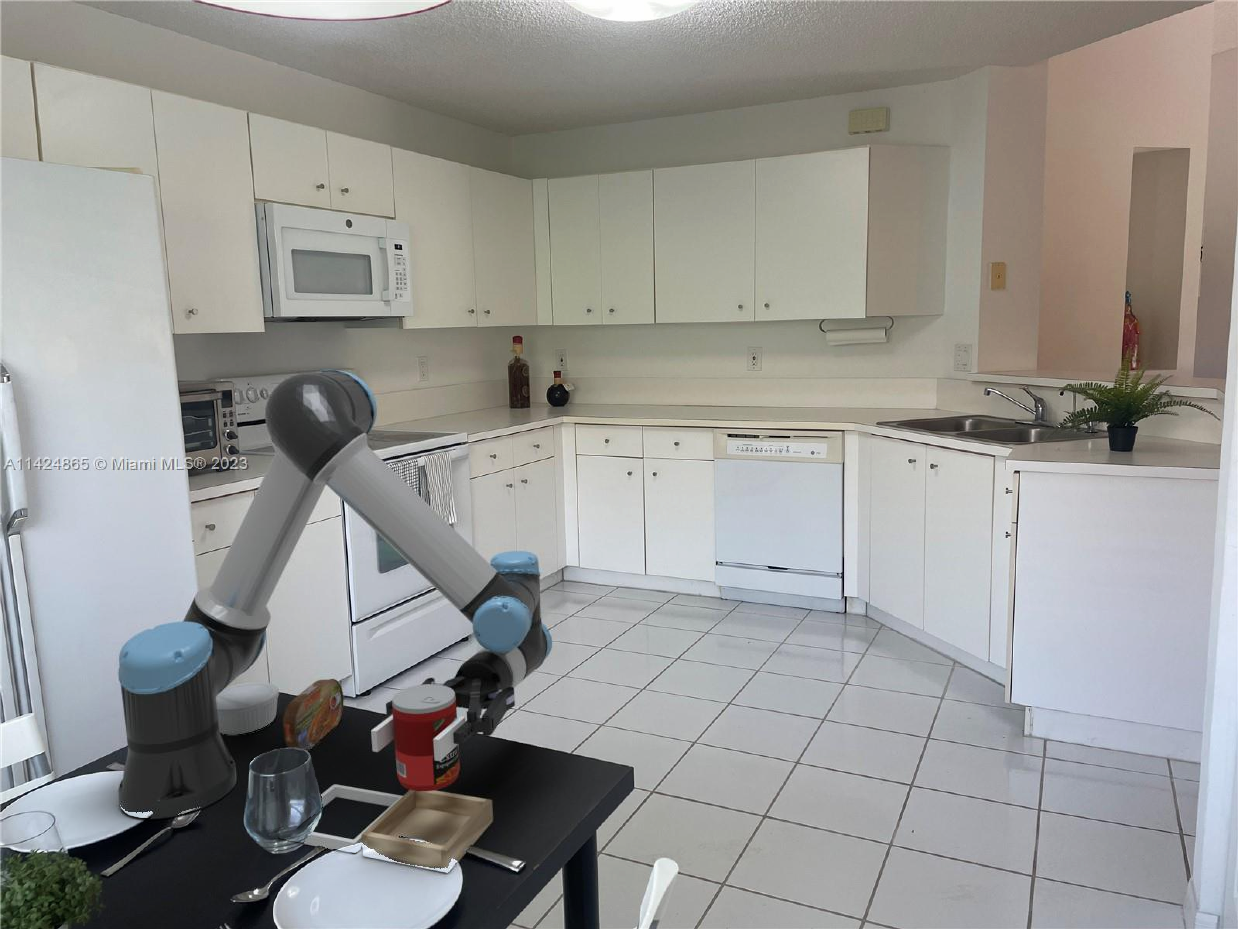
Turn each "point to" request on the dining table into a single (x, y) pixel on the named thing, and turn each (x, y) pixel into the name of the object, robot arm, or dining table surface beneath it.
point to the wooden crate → (429, 827)
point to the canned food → (424, 736)
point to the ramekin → (246, 707)
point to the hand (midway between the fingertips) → (405, 745)
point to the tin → (313, 714)
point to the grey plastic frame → (352, 794)
